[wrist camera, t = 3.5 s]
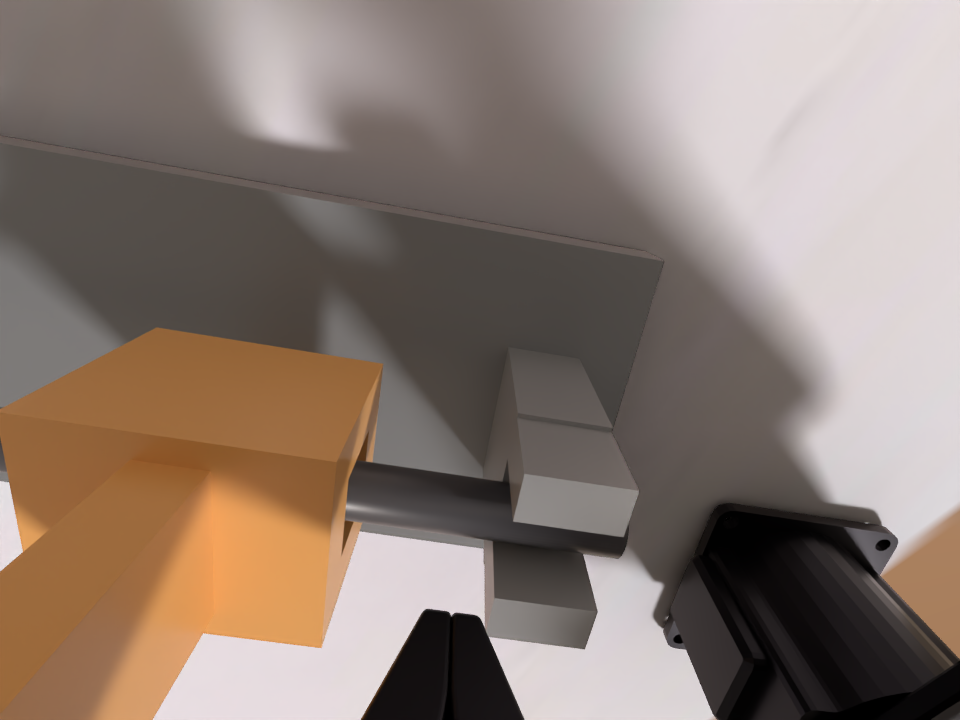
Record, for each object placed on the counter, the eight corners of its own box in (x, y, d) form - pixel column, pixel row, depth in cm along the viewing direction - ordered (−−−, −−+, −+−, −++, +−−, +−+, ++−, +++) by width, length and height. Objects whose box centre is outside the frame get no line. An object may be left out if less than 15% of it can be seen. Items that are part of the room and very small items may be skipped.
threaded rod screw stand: (646, 251, 15) (802, 340, 7) (565, 530, 18) (618, 767, 11) (-470, 51, 13) (-1648, -81, 6) (-313, 404, 16) (-912, 589, 9)
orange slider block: (383, 363, 12) (167, 815, 4) (367, 507, 13) (188, 1053, 5) (157, 327, 11) (-624, 733, 3) (166, 478, 13) (-358, 1011, 5)
